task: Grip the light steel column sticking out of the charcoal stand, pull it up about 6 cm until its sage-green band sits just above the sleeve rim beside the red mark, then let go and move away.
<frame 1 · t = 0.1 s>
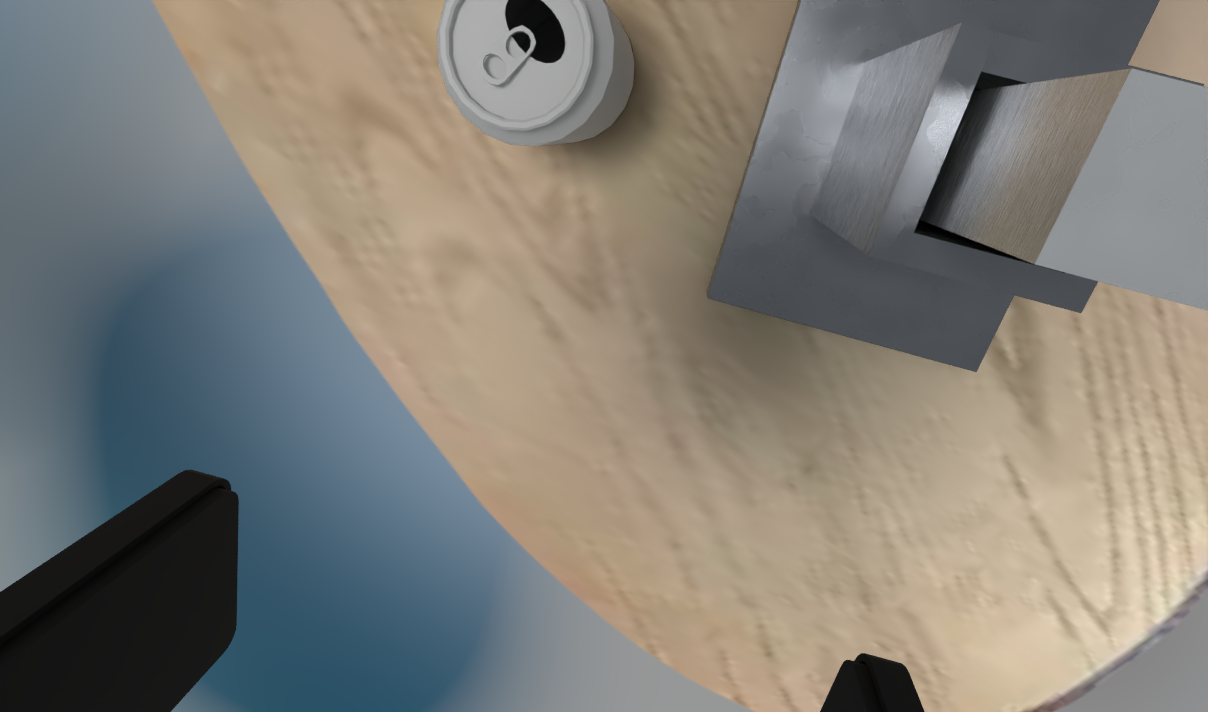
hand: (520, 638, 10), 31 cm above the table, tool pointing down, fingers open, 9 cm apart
can: (570, 72, 36), on the table
stand housing: (901, 159, 35), on the table
column: (995, 172, 24), point 12 cm above the table, slide at 0.0 cm
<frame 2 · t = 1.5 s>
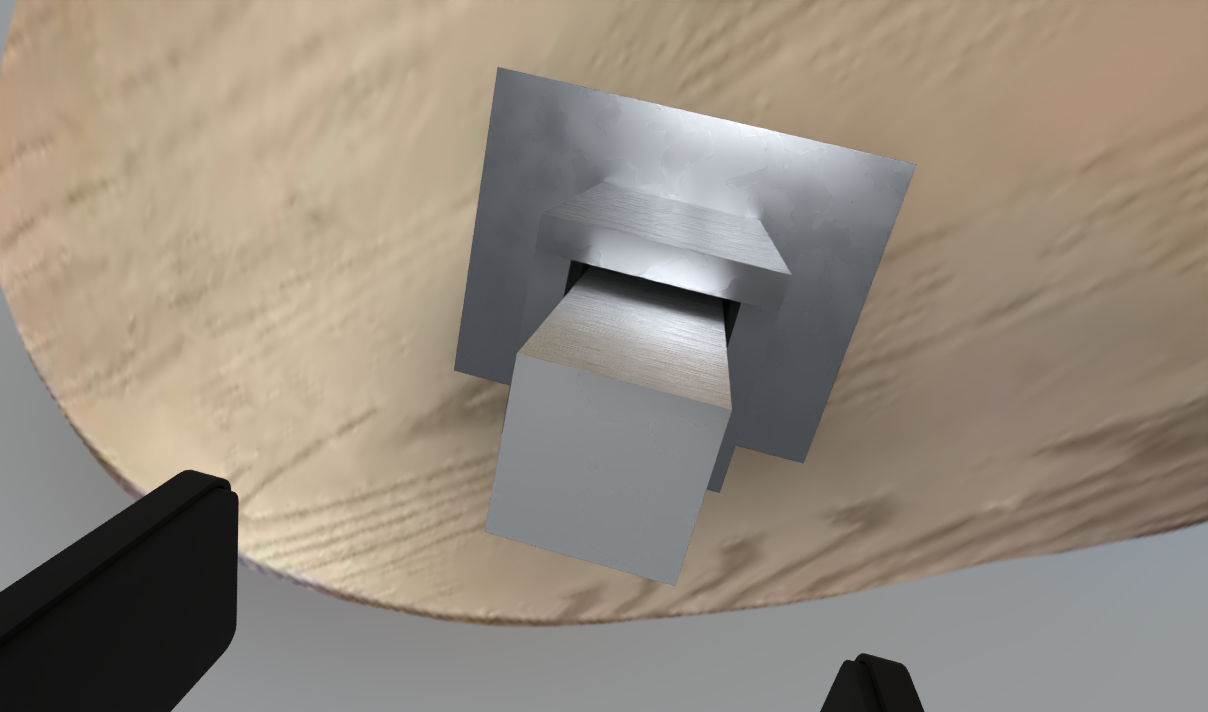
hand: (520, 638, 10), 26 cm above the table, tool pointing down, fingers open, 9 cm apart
stand housing: (662, 272, 34), on the table
column: (641, 339, 23), point 12 cm above the table, slide at 0.0 cm
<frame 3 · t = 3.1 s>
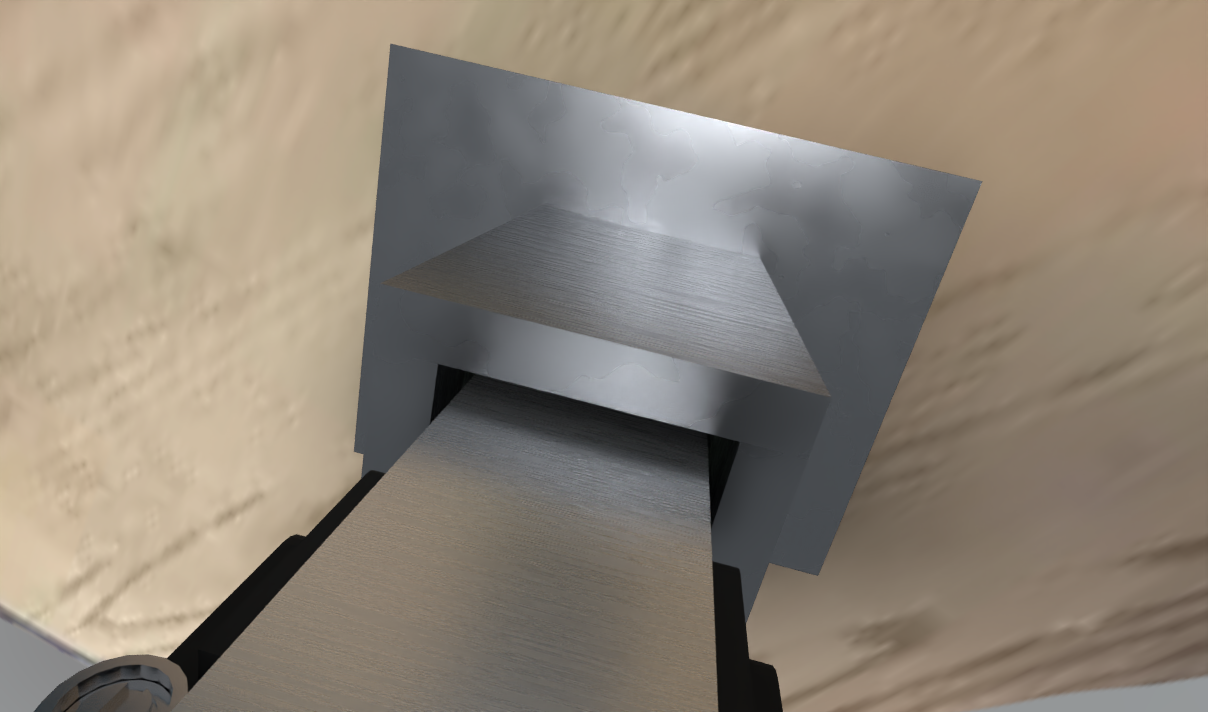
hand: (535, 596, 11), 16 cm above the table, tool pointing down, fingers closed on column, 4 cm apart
stand housing: (628, 323, 25), on the table
column: (578, 471, 14), point 12 cm above the table, slide at 0.0 cm, touching gripper
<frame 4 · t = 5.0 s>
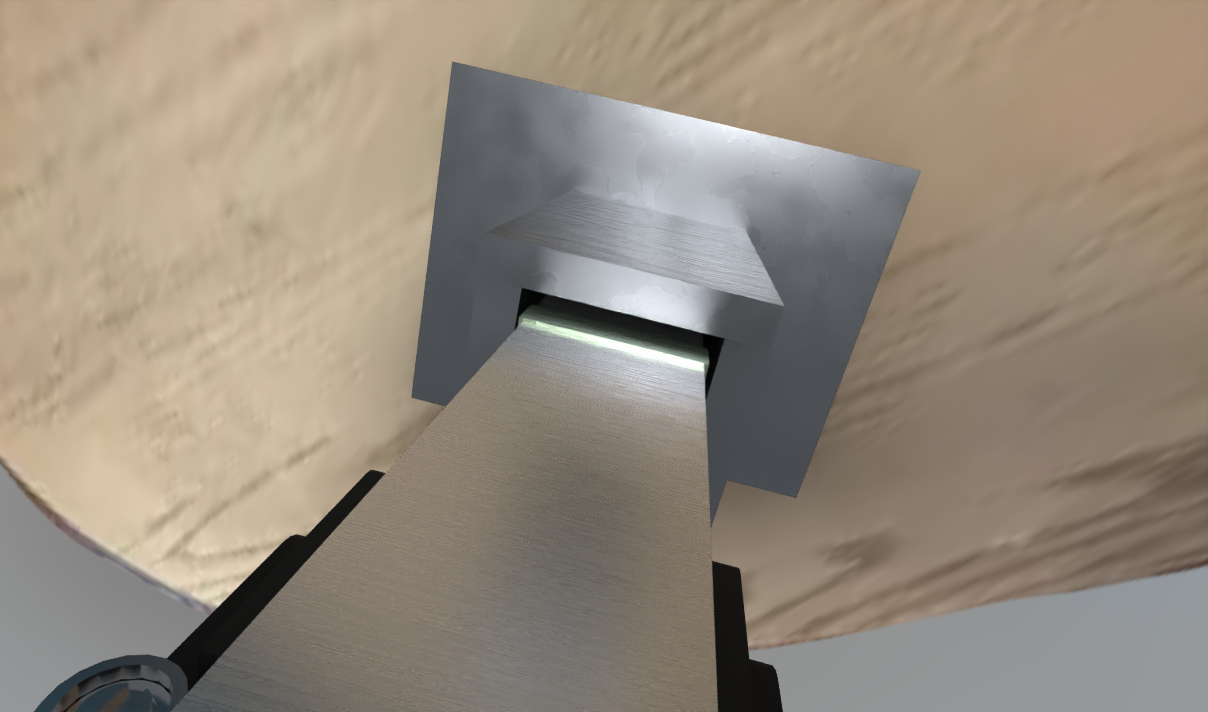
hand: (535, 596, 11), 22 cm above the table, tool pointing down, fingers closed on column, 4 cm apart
stand housing: (640, 289, 31), on the table
column: (577, 471, 14), point 18 cm above the table, slide at 5.9 cm, touching gripper
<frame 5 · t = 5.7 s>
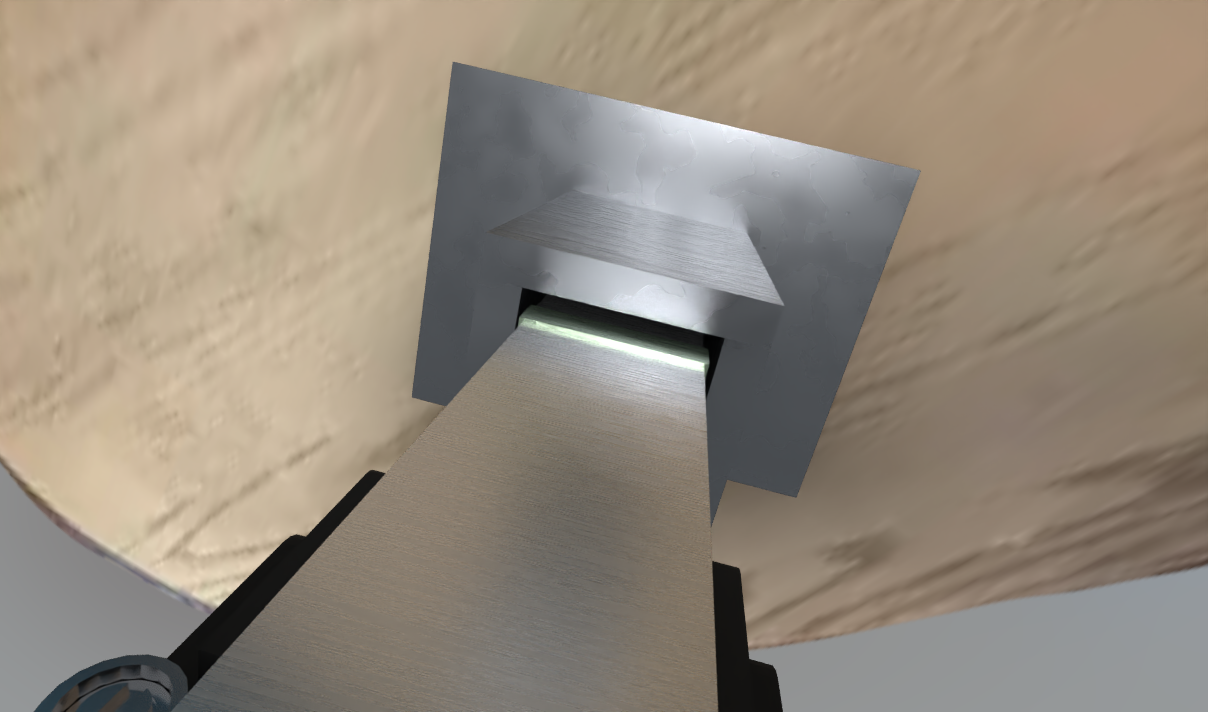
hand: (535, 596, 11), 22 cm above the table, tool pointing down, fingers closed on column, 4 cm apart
stand housing: (640, 289, 31), on the table
column: (577, 471, 14), point 18 cm above the table, slide at 6.0 cm, touching gripper
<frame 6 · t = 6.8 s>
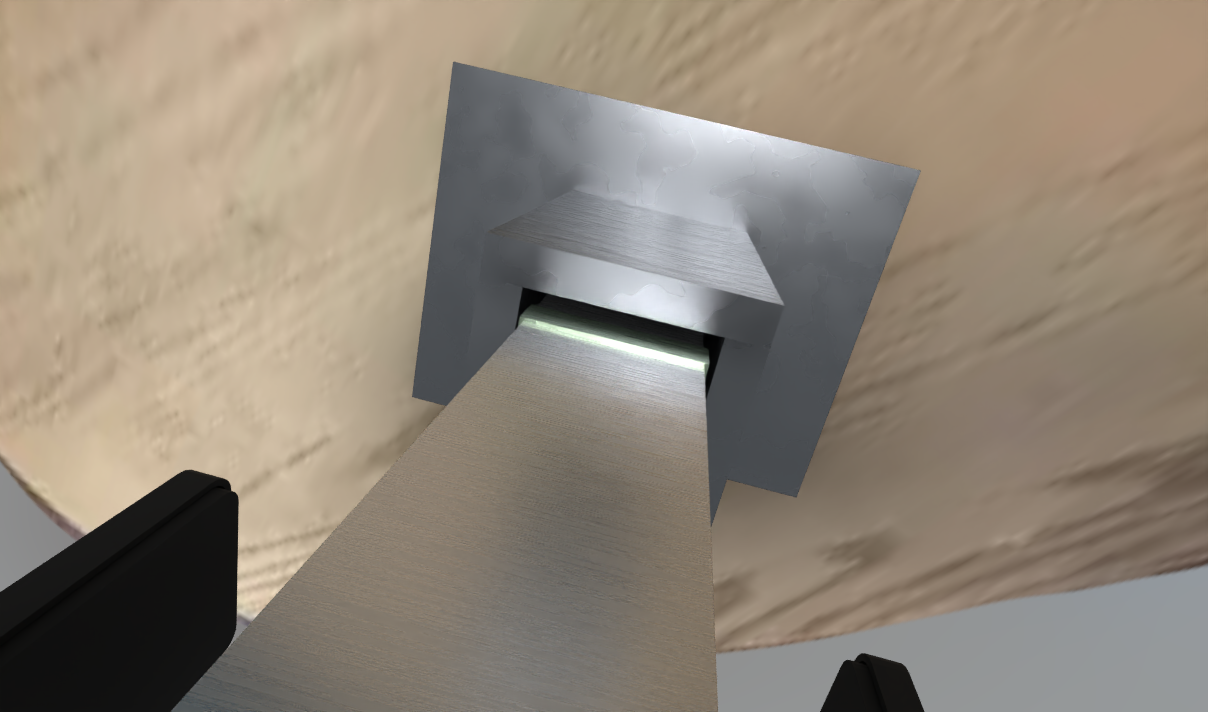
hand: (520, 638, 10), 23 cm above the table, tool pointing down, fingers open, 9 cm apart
stand housing: (640, 288, 31), on the table
column: (578, 470, 14), point 18 cm above the table, slide at 6.0 cm
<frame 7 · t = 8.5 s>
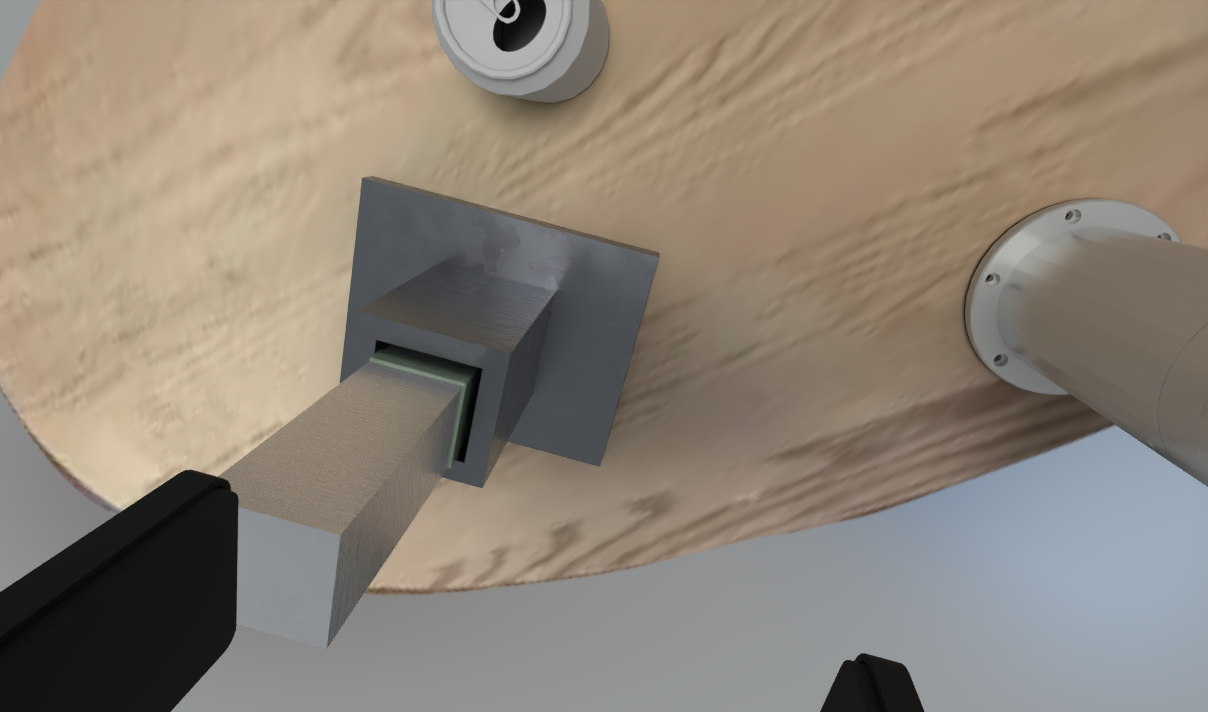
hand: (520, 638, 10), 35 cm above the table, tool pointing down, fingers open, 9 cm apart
can: (550, 38, 40), on the table
stand housing: (493, 324, 46), on the table
column: (391, 435, 29), point 18 cm above the table, slide at 6.0 cm
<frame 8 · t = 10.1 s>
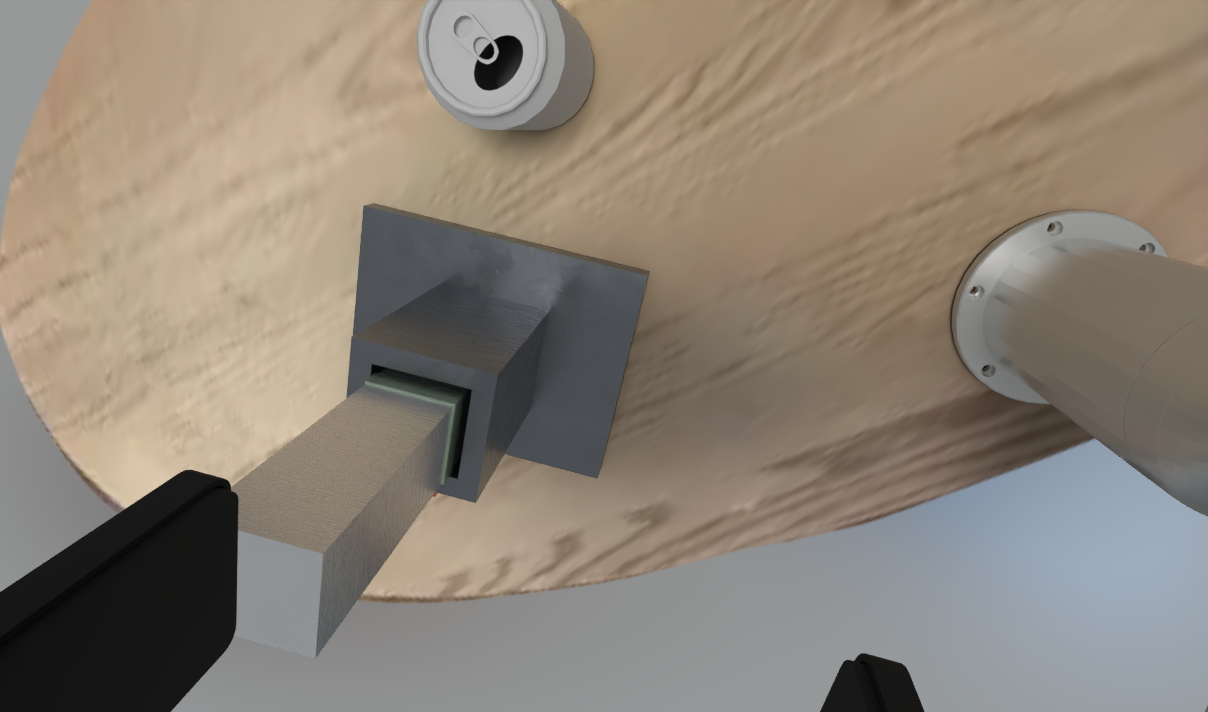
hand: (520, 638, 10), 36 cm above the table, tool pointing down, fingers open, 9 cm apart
can: (538, 68, 41), on the table
stand housing: (492, 342, 48), on the table
column: (384, 455, 31), point 18 cm above the table, slide at 6.0 cm
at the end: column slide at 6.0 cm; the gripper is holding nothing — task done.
